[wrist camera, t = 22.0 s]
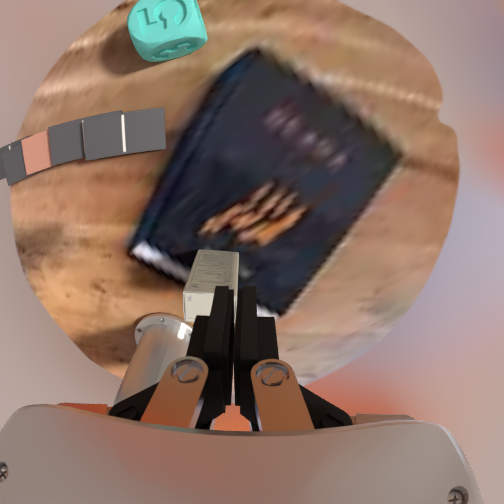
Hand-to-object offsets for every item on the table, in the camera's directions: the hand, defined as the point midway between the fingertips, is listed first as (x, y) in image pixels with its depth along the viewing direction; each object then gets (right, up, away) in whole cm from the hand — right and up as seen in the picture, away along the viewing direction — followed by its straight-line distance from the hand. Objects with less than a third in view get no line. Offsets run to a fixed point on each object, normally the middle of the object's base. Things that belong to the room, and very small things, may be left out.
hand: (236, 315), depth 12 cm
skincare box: (-4, +1, +32) cm, 32 cm away
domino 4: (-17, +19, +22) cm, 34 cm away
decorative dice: (-10, +32, +18) cm, 38 cm away
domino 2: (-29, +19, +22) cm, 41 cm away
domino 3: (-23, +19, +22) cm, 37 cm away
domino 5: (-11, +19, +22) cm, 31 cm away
